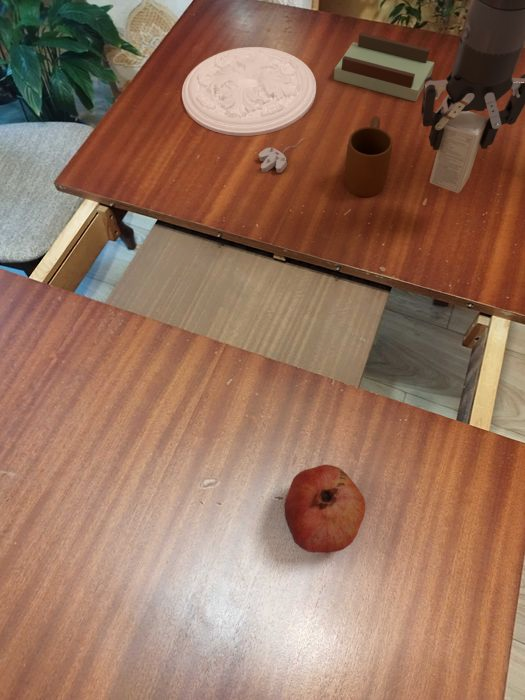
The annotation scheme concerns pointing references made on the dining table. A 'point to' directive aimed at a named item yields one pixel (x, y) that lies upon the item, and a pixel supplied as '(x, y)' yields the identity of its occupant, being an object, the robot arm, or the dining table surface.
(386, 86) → the green base with ridges
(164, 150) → the dining table surface
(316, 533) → the fruit
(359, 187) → the mug
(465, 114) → the box
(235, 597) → the dining table surface
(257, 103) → the ceiling medallion
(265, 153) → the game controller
